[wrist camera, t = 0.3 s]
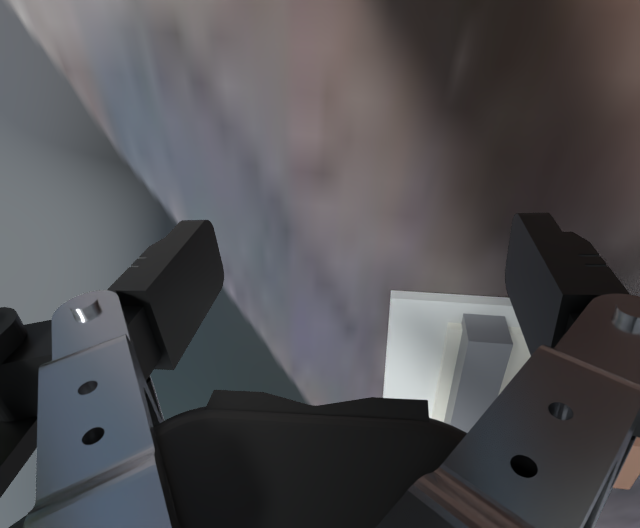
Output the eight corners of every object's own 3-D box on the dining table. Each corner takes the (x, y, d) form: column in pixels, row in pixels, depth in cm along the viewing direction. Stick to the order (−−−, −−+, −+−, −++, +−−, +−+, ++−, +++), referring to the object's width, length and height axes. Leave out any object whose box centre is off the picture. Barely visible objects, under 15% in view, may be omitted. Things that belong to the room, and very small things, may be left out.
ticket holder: (390, 290, 34) (390, 324, 31) (582, 302, 33) (603, 340, 29) (381, 419, 43) (379, 456, 40) (530, 434, 42) (542, 474, 38)
